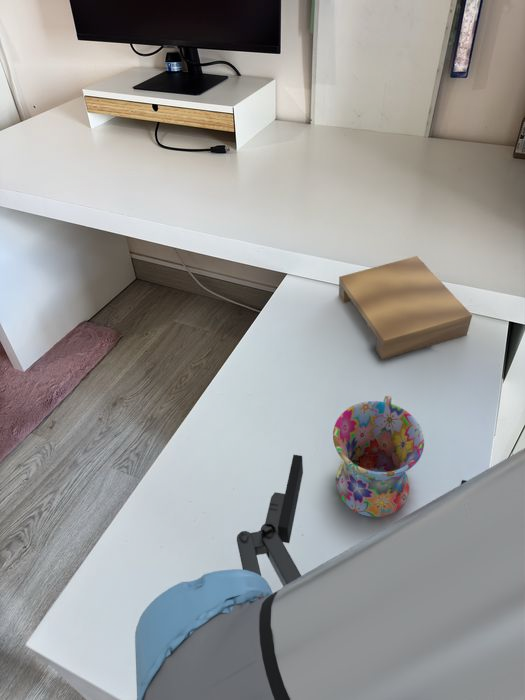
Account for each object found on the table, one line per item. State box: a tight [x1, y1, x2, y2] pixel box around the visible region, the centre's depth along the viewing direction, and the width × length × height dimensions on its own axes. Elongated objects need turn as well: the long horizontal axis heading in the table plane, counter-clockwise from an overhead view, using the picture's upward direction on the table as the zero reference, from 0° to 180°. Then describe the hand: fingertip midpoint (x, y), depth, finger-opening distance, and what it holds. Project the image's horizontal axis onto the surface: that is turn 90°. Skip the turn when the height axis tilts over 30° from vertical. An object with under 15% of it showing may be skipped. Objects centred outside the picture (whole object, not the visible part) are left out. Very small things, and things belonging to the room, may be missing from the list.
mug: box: [332, 395, 425, 518], centre depth 57 cm, size 12×9×11 cm
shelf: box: [338, 255, 473, 361], centre depth 79 cm, size 16×14×4 cm
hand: (378, 475), depth 42 cm, fingers open, 13 cm apart
